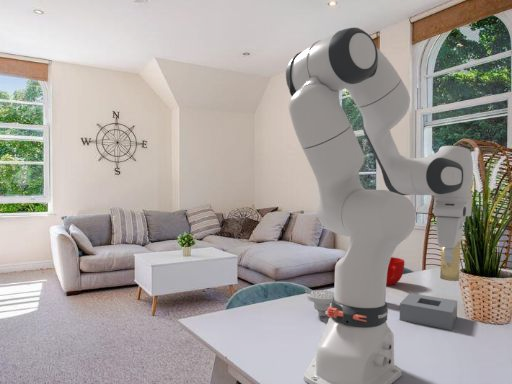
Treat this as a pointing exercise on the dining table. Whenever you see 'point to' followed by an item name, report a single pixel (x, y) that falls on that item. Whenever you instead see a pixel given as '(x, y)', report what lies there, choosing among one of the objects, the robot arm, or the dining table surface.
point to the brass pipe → (450, 265)
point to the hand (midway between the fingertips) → (450, 261)
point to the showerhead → (320, 300)
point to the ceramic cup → (394, 270)
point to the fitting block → (429, 311)
